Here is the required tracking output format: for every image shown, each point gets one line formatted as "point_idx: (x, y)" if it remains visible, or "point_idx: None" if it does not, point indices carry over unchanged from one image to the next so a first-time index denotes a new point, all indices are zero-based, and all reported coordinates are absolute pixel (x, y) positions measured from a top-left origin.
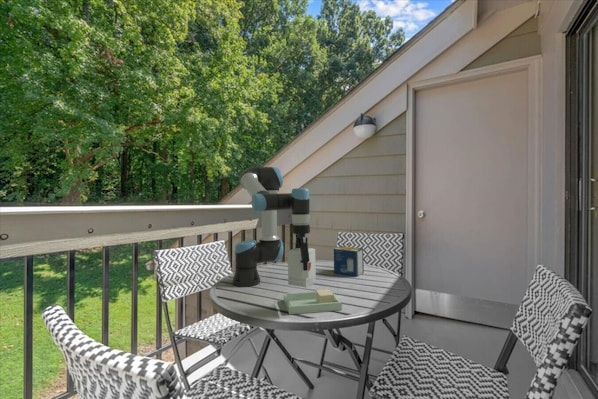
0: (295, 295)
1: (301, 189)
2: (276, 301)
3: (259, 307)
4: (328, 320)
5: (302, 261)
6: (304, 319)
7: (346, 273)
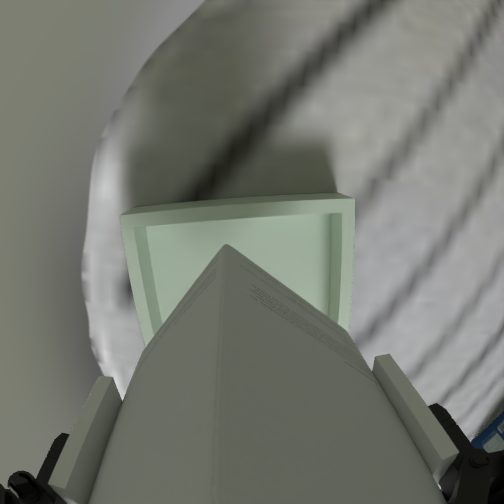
0: (338, 265)
1: None
2: (360, 157)
3: (287, 64)
4: (102, 351)
5: (19, 489)
6: (107, 270)
7: (495, 425)
